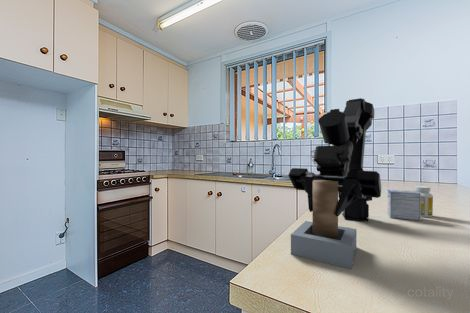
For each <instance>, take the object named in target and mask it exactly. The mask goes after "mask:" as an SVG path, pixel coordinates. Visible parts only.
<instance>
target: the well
mask: <svg viewBox="0 0 470 313" xmlns="http://www.w3.org/2000/svg"><path fill="white" fill-rule="evenodd" d="M356 251H357V228H352V227H345V226H340V225H338V240H336V239H331V238H325V237H320V236H315V235H313V221H309V220H305V221H304V222H302V224H300V225H299V227H297V228H296V229H295V230H294V231H293V232H292V233H291V234H290V255H293V256H298V257H301V258H306V259H310V260H315V261H317V262H321V263H326V264H330V265H335V266H338V267H342V268H347V269H351V270H352V268H353V264H354V259H355V254H356Z"/></svg>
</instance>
